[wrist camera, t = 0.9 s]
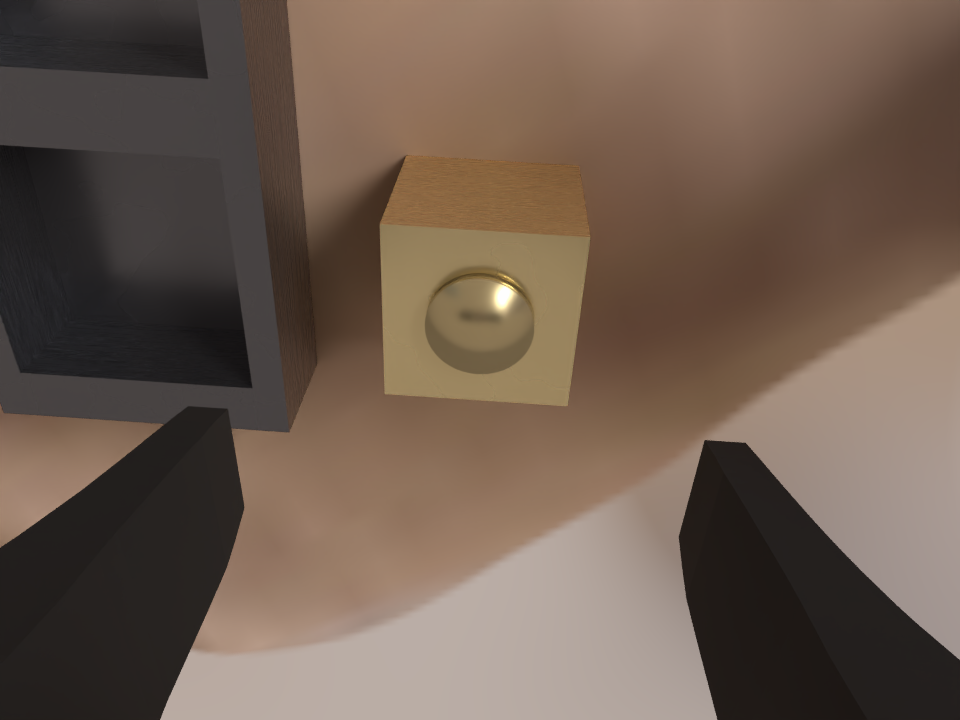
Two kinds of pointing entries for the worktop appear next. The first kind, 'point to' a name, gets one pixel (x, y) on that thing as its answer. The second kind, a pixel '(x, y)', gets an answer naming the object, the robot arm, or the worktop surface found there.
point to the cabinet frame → (151, 212)
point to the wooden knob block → (483, 279)
